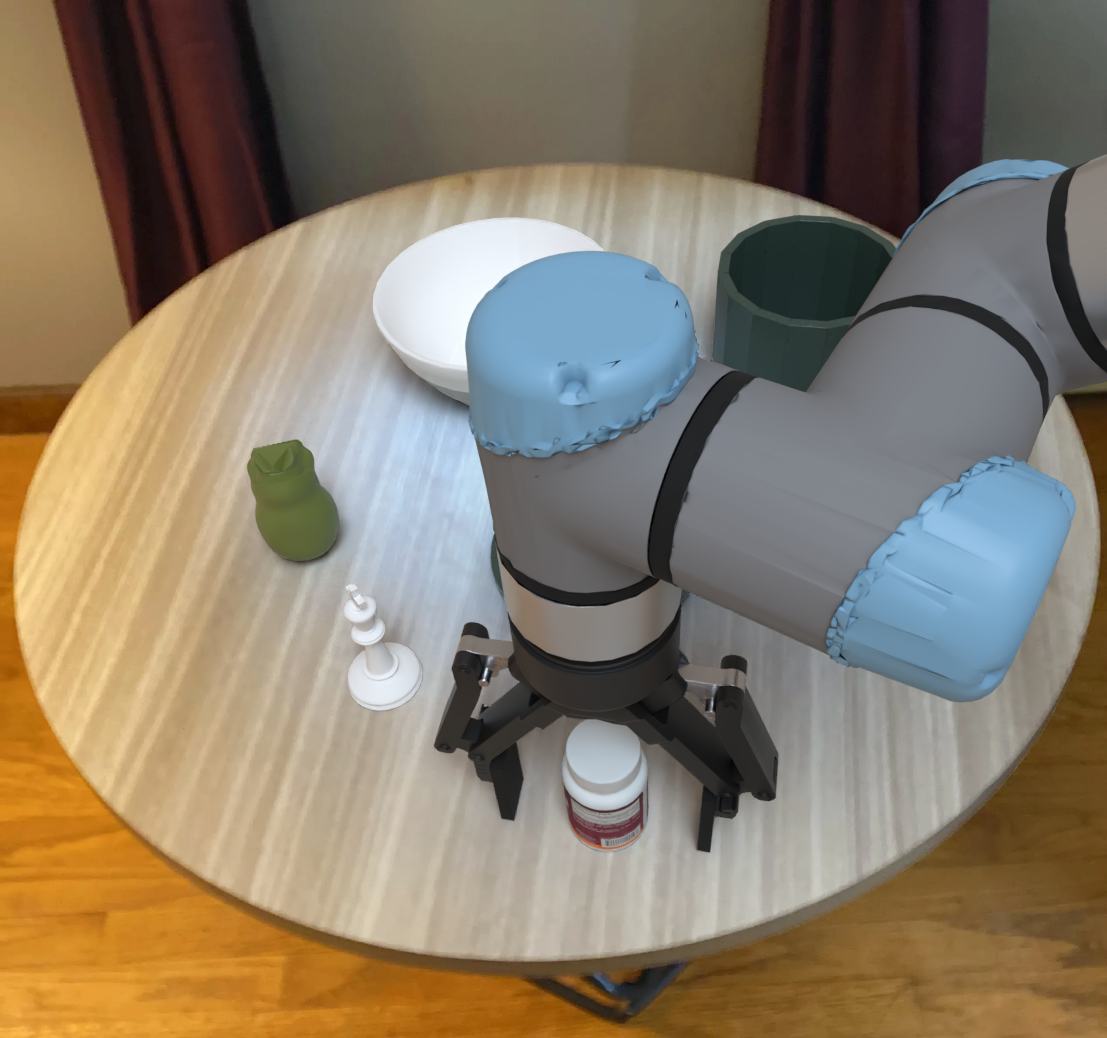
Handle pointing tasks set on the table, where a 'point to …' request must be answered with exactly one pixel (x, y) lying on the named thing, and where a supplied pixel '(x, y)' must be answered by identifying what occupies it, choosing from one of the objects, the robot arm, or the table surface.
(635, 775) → the pill bottle
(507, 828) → the table surface
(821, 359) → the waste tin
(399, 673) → the chess piece
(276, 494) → the pear
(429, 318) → the bowl
